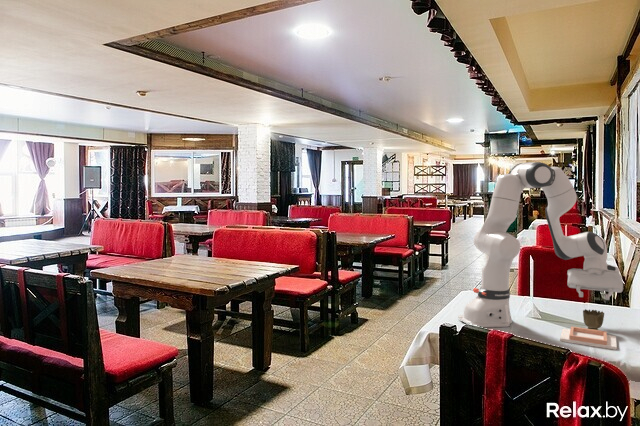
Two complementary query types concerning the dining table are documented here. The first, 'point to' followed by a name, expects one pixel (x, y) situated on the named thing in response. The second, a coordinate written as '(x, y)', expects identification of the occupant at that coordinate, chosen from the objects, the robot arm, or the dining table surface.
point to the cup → (593, 319)
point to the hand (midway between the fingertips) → (593, 297)
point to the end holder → (589, 337)
